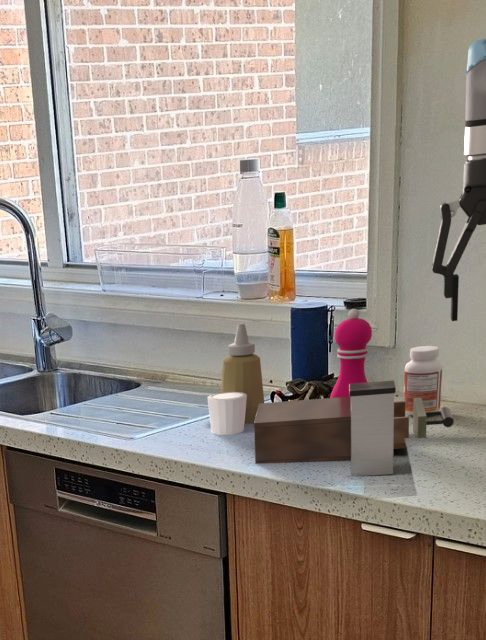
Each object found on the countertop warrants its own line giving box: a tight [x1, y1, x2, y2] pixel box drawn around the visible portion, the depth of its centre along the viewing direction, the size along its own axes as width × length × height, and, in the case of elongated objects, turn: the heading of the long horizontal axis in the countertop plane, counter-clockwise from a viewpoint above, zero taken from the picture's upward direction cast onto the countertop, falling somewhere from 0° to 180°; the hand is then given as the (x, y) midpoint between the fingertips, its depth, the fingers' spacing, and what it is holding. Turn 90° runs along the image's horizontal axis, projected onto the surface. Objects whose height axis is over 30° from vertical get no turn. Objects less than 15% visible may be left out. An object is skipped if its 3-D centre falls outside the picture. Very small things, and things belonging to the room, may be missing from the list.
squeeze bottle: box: [220, 322, 265, 425], centre depth 222 cm, size 8×8×18 cm
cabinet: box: [253, 397, 351, 465], centre depth 199 cm, size 16×15×7 cm
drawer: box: [393, 398, 455, 450], centre depth 196 cm, size 19×13×5 cm
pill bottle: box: [402, 345, 443, 416], centre depth 213 cm, size 6×6×11 cm
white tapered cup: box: [207, 392, 247, 436], centre depth 218 cm, size 7×7×7 cm
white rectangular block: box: [349, 379, 397, 477], centre depth 183 cm, size 6×5×13 cm
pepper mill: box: [329, 308, 373, 398], centre depth 208 cm, size 7×7×20 cm
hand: (485, 316), depth 185 cm, fingers open, 8 cm apart
